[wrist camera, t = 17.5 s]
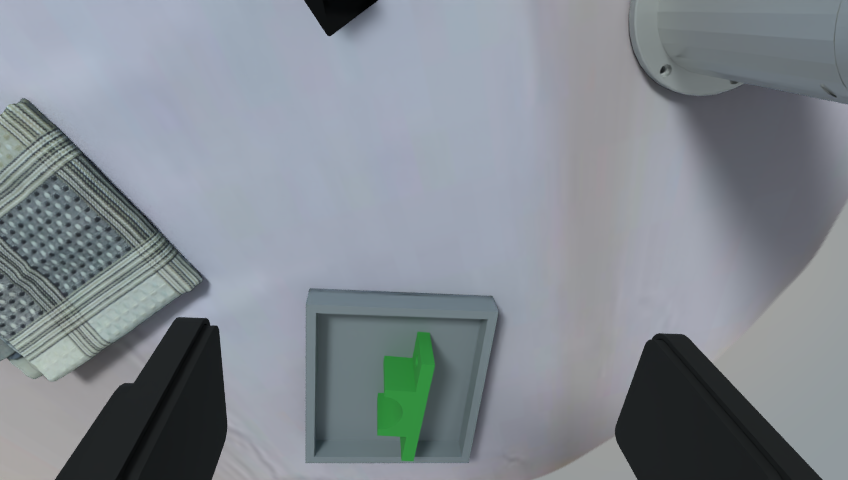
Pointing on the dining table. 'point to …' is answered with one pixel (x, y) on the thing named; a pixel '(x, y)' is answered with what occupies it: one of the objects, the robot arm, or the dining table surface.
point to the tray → (364, 378)
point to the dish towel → (71, 252)
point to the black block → (337, 12)
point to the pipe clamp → (406, 395)
